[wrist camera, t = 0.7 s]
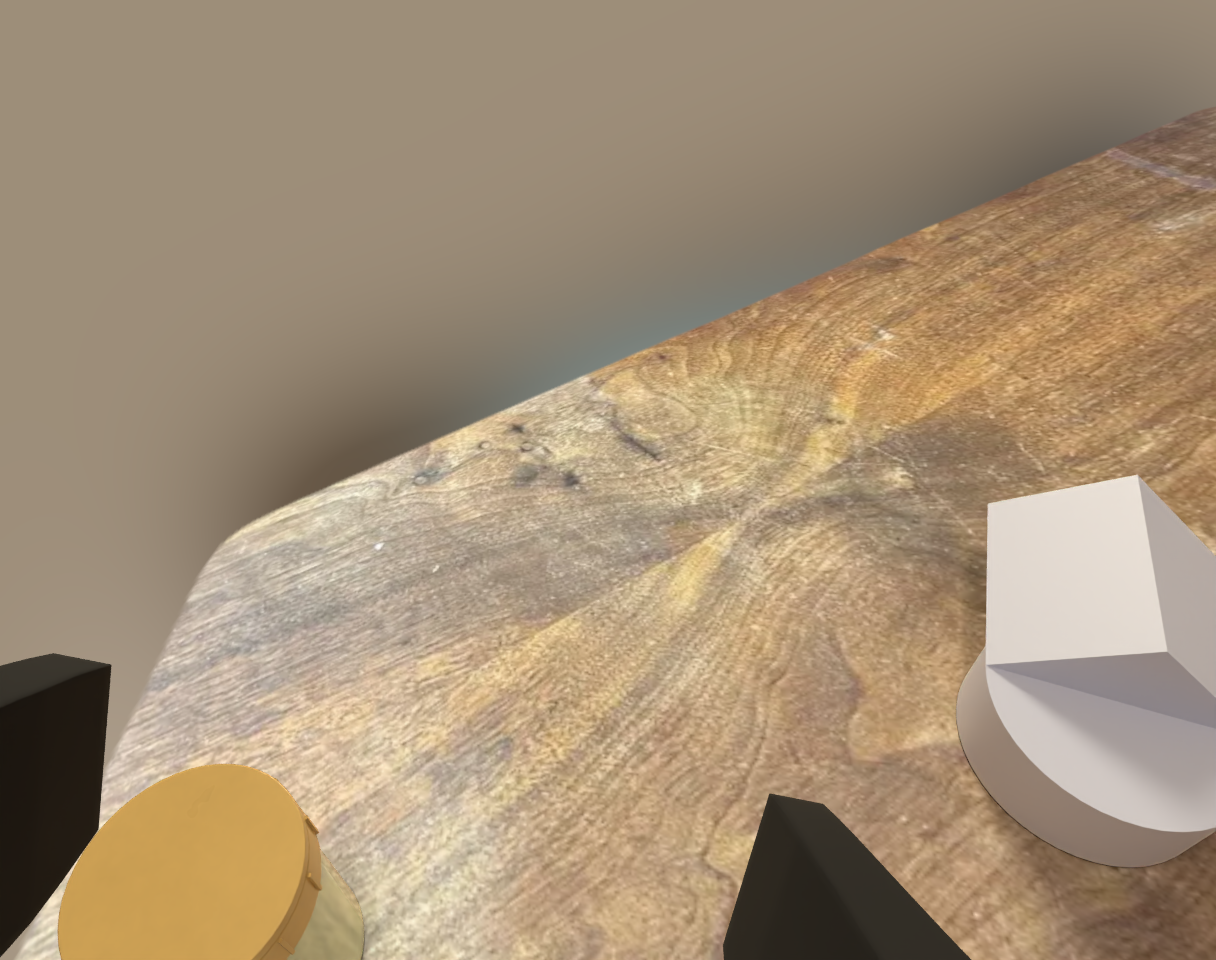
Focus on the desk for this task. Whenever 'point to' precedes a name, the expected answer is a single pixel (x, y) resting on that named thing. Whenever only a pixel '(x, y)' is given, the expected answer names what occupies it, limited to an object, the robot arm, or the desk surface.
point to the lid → (196, 873)
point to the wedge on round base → (1097, 674)
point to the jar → (332, 922)
